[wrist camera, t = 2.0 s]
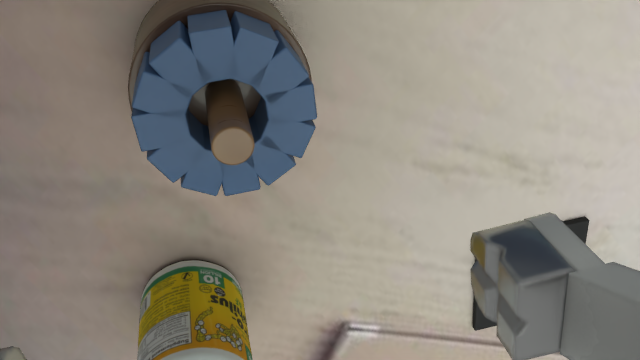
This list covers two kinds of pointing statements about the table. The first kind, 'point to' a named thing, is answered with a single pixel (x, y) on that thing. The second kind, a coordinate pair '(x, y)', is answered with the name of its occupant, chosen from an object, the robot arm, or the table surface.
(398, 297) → the table surface
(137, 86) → the ring
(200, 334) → the supplement bottle
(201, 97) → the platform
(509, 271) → the robot arm
